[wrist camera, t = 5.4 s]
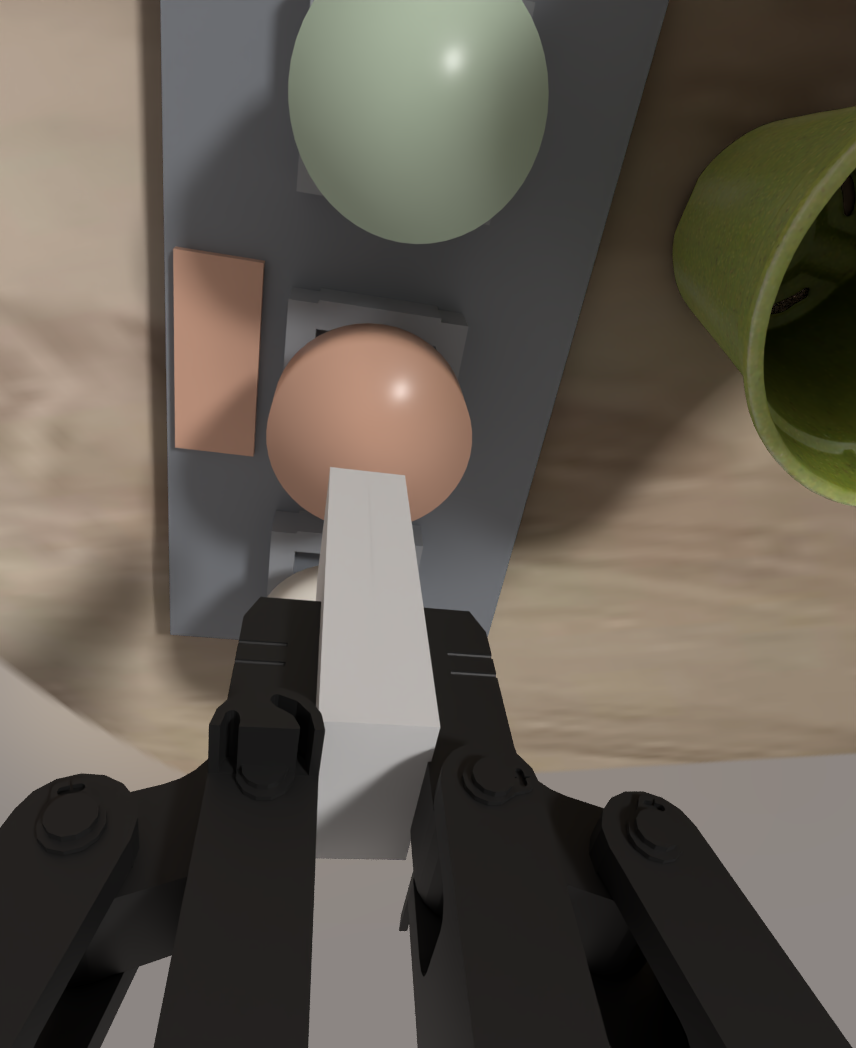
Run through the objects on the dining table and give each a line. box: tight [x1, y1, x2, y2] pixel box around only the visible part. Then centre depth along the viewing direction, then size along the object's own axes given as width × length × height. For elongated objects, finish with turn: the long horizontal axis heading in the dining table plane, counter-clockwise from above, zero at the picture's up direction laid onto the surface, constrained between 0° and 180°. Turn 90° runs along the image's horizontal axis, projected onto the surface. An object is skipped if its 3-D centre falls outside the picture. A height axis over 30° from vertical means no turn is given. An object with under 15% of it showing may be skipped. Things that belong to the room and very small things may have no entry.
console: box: [160, 0, 669, 640], centre depth 22 cm, size 22×12×2 cm, turn 170°
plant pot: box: [672, 106, 856, 507], centre depth 18 cm, size 9×9×9 cm
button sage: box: [288, 0, 549, 244], centre depth 16 cm, size 5×5×3 cm
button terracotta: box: [266, 323, 472, 522], centre depth 19 cm, size 5×5×3 cm
